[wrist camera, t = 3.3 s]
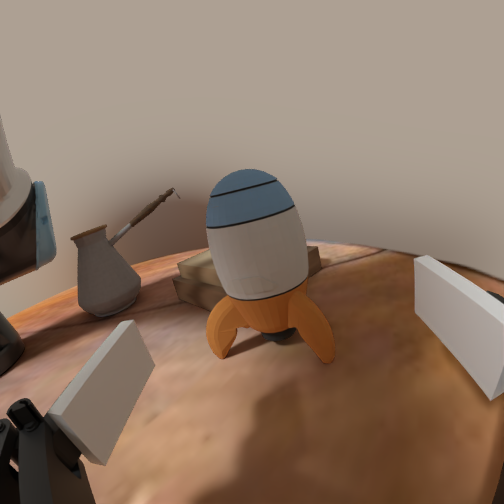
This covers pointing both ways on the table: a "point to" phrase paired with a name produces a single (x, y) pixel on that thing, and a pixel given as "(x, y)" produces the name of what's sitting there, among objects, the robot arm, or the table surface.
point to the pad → (219, 293)
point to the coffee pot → (107, 268)
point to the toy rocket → (261, 265)
